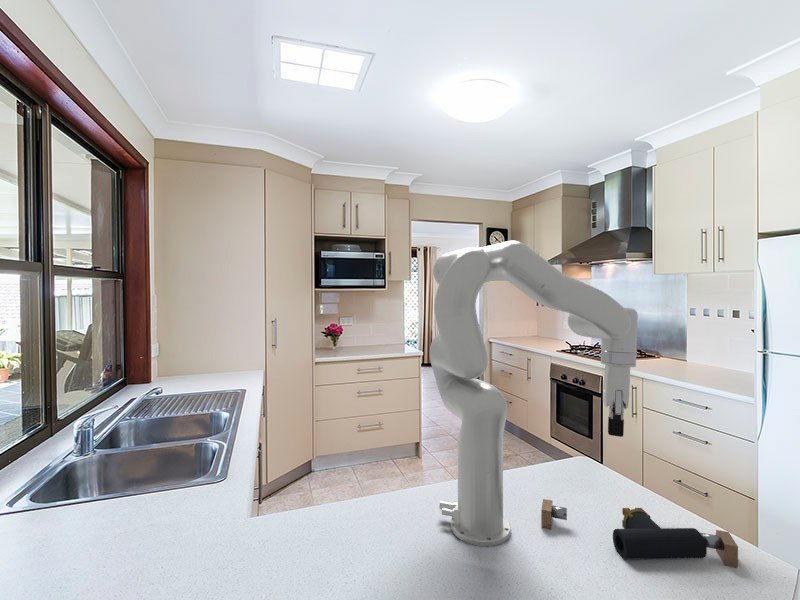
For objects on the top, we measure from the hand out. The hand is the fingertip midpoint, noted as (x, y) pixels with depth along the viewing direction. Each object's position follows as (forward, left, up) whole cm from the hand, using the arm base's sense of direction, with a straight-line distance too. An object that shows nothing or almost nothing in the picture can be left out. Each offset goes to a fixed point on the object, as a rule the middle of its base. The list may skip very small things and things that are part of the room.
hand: (615, 434), depth 99 cm
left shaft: (-13, -16, -16) cm, 26 cm away
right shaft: (+16, -16, -16) cm, 28 cm away
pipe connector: (+4, -16, -17) cm, 24 cm away
